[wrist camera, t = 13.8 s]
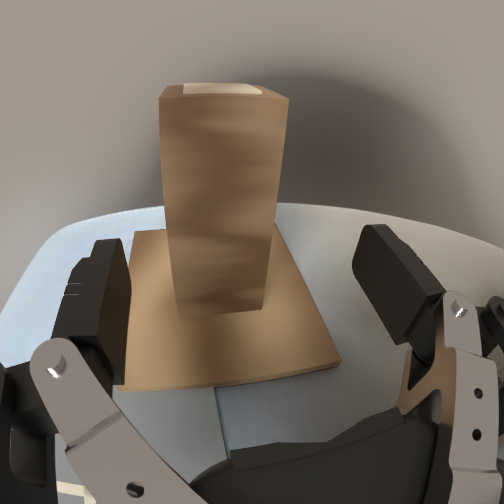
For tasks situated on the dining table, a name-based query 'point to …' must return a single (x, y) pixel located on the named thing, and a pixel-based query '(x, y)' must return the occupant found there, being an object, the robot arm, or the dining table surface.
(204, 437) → the tile
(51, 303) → the dining table surface
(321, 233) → the dining table surface
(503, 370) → the dining table surface
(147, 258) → the cork pad
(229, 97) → the walnut block
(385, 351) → the dining table surface
